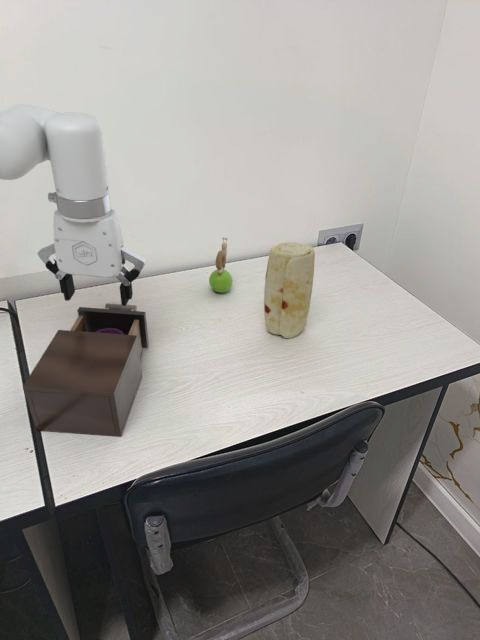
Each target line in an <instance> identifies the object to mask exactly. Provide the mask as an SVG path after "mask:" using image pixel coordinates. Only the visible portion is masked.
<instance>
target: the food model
mask: <svg viewBox="0 0 480 640" xmlns="http://www.w3.org/2000/svg"><path fill="white" fill-rule="evenodd" d="M315 259H316V252H315V249H314V247H313V246H312V245H310V244H307V243H300V242H295V241H286V242H280V243H278V244H276V245H273V246H272V247H271V248H270V250H269V254H268V259H267V266H266V272H265V279H264V280H265V281H264V291H263V292H264V293H263V296H264V297H263V311H264V312H263V313H264V314H263V315H264V323H265V328H266V330H267V331H268V332H269V333H270V334H273V335H277V336H278V335H280V336H282V338H284V339H293V338H294V337H297V336H298V335H299V334H301V333H302V331H304V330H305V328H306V327H307V322H308V316H309V312H310V306H311V301H312V300H311V299H312V294H313V293H312V292H313V286H314V277H315V276H314V275H315Z"/></svg>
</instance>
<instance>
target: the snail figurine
mask: <svg viewBox="0 0 480 640" xmlns="http://www.w3.org/2000/svg"><path fill="white" fill-rule="evenodd" d="M221 239H222V243H221V250H219V251H218V252H217V254H216V258H215V267H216V269H215V270H213V271H212V272H211V274H210V275H209V277H208V284H209V287H210V288H211V289H212V290H213V291H214V292H216V293H219V294H221V293H226V292H227V291H229V290H230V289H231V288H232V286H233V281H234V280H233V276H232V274H231V272H229V271H228V270H227V269H225V268H226V263H227V254H228V252H227V250H228V244H227V241H228V237H224V236H223V237H222V238H221ZM224 241H225V242H224Z"/></svg>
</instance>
